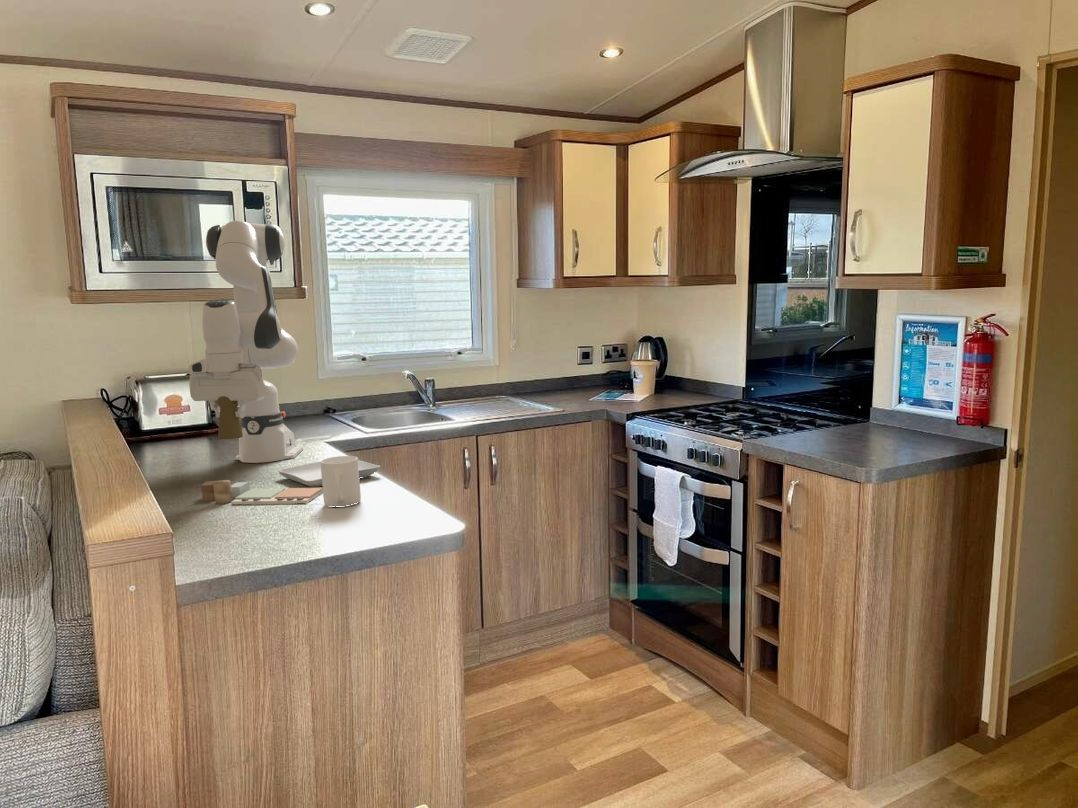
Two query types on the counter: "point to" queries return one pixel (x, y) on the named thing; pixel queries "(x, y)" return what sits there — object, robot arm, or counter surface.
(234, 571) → the counter surface
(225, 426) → the pepper shaker
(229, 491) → the cork stopper
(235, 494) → the soap box
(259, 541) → the counter surface
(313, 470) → the salad plate
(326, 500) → the mug
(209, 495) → the walnut cube
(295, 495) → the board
